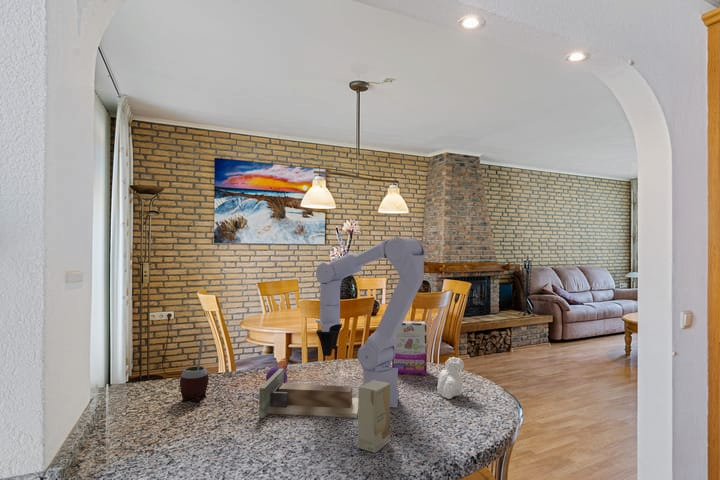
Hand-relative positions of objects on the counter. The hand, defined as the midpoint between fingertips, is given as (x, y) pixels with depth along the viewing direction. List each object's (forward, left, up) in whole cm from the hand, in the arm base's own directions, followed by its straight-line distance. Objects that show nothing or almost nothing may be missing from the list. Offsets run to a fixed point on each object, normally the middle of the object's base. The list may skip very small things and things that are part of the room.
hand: (329, 352), depth 119 cm
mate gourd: (+34, +12, -11) cm, 38 cm away
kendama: (+17, -7, -11) cm, 21 cm away
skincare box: (-15, +32, -11) cm, 37 cm away
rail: (+1, +14, -9) cm, 17 cm away
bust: (-34, 0, -11) cm, 36 cm away
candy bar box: (-23, -19, -11) cm, 32 cm away
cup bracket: (+1, +14, -10) cm, 17 cm away
